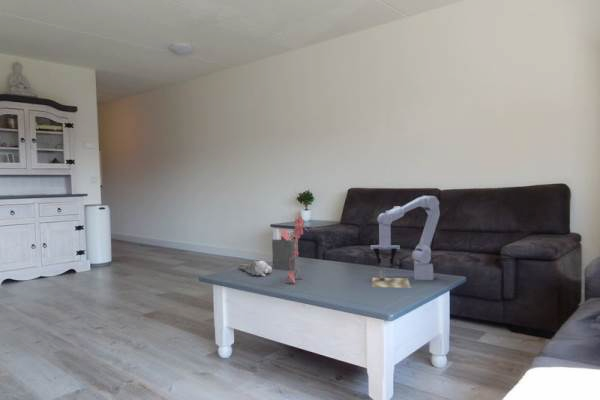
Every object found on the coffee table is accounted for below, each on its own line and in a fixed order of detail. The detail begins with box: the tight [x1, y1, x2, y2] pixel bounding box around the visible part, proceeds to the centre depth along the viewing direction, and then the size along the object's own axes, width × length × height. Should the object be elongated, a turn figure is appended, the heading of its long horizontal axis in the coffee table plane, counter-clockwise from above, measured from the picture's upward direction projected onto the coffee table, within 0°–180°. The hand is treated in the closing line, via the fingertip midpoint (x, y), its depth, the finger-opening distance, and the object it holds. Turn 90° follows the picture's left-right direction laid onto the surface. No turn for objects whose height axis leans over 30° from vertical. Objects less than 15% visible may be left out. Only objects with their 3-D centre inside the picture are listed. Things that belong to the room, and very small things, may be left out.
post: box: [379, 269, 386, 281], centre depth 218 cm, size 3×3×5 cm
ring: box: [378, 256, 392, 267], centre depth 216 cm, size 6×6×4 cm
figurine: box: [279, 215, 315, 286], centre depth 222 cm, size 15×26×35 cm, turn 157°
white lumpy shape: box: [255, 260, 273, 277], centre depth 241 cm, size 6×8×12 cm
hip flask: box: [271, 235, 296, 272], centre depth 257 cm, size 16×4×20 cm, turn 56°
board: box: [371, 277, 412, 289], centre depth 212 cm, size 18×20×1 cm
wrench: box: [237, 260, 258, 276], centre depth 249 cm, size 8×2×30 cm
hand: (385, 263), depth 216 cm, fingers closed on ring, 6 cm apart
